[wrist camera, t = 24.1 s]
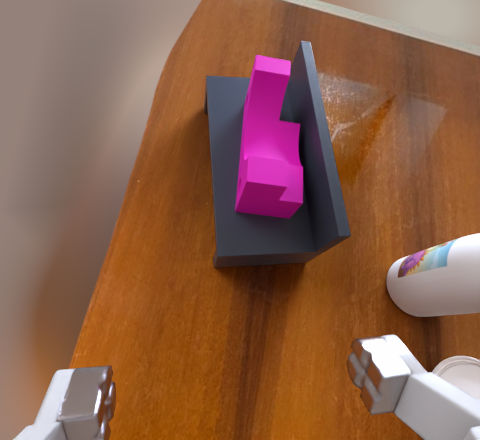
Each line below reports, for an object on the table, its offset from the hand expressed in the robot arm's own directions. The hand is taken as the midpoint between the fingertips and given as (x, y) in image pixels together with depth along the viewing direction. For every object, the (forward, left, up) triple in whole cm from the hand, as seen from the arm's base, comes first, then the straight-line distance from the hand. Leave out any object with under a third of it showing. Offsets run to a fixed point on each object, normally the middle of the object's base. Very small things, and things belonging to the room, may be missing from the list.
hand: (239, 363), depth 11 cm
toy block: (+8, +20, -21) cm, 30 cm away
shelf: (+8, +20, -27) cm, 35 cm away
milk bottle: (+28, +4, -27) cm, 39 cm away
